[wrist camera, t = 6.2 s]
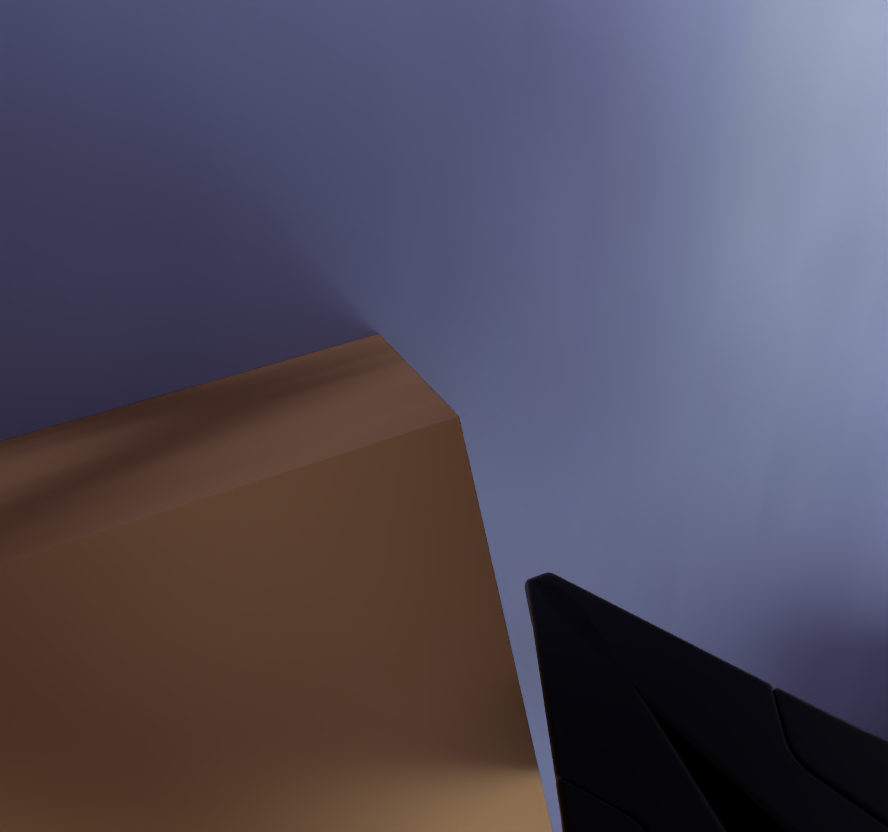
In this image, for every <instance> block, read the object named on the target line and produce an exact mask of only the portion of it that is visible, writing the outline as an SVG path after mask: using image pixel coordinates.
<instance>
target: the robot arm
mask: <svg viewBox="0 0 888 832" xmlns="http://www.w3.org/2000/svg"><path fill="white" fill-rule="evenodd" d="M525 591H526V596H527V601H528V607H529V612H530V617H531V622H532V626H533V632H534V638H535V645H536V652H537V658H538V665H539V672H540V678H541V685H542V692H543V698H544V705H545V712H546V718H547V725H548V732H549V738H550V745H551V752H552V758H553V765H554V772H555V778H556V787H557V794H558V801H559V807H560V814H561V822H562V831H563V832H888V741H887V740H885V739H883V738H881V737H878V736H876V735H874V734H871V733H869V732H867V731H865V730H862V729H860V728H858V727H856V726H854V725H852V724H850V723H848V722H846V721H844V720H842V719H840V718H838V717H836V716H833V715H831V714H829V713H827V712H825V711H823V710H821V709H819V708H817V707H815V706H813V705H811V704H809V703H807V702H805V701H803V700H801V699H799V698H797V697H795V696H793V695H791V694H789V693H787V692H785V691H783V690H781V689H779V688H776V689H774V691H773V688H772V686H771V685H770V684H769V683H767V682H765V681H763V680H761V679H759V678H757V677H755V676H753V675H751V674H749V673H747V672H745V671H743V670H741V669H739V668H738V667H736V666H734V665H732V664H730V663H728V662H726V661H724V660H722V659H720V658H718V657H716V656H714V655H712V654H710V653H708V652H706V651H704V650H702V649H700V648H698V647H696V646H694V645H692V644H690V643H688V642H686V641H684V640H683V639H681V638H679V637H677V636H675V635H673V634H671V633H669V632H667V631H665V630H663V629H661V628H659V627H657V626H655V625H653V624H651V623H649V622H647V621H645V620H643V619H641V618H639V617H637V616H635V615H633V614H631V613H629V612H628V611H626V610H624V609H622V608H620V607H618V606H616V605H614V604H612V603H610V602H608V601H606V600H604V599H602V598H600V597H598V596H596V595H594V594H592V593H590V592H588V591H586V590H584V589H582V588H580V587H578V586H576V585H575V584H573V583H571V582H569V581H567V580H565V579H563V578H561V577H559V576H557V575H555V574H553V573H544V574H541V575H539V576H536V577H533V578H530V579H528V580H527V581H526V583H525Z"/></svg>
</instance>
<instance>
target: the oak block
mask: <svg viewBox="0 0 888 832" xmlns="http://www.w3.org/2000/svg"><path fill="white" fill-rule="evenodd" d="M0 832H553V831H552V827H551V822H550V818H549V814H548V809H547V805H546V800H545V796H544V791H543V787H542V783H541V778H540V774H539V769H538V765H537V760H536V756H535V751H534V747H533V743H532V738H531V734H530V729H529V725H528V720H527V716H526V712H525V707H524V703H523V698H522V694H521V689H520V685H519V681H518V676H517V672H516V667H515V663H514V658H513V654H512V649H511V645H510V641H509V636H508V632H507V627H506V623H505V618H504V614H503V610H502V605H501V601H500V596H499V592H498V587H497V583H496V579H495V574H494V570H493V565H492V561H491V556H490V552H489V547H488V543H487V539H486V534H485V530H484V525H483V521H482V516H481V512H480V508H479V503H478V499H477V494H476V490H475V485H474V481H473V477H472V472H471V468H470V463H469V459H468V454H467V450H466V445H465V441H464V437H463V432H462V428H461V423H460V419H459V416H458V415H457V414H456V413H455V412H454V411H453V410H452V409H451V408H450V407H449V405H448V404H447V403H446V402H445V401H444V400H443V399H442V398H441V397H440V396H439V395H438V394H437V393H436V392H435V391H434V390H433V389H432V388H431V387H430V386H429V385H428V384H427V383H426V382H425V381H424V380H423V379H422V378H421V377H420V376H419V375H418V374H417V373H416V372H415V371H414V369H413V368H412V367H411V366H410V365H409V364H408V363H407V362H406V361H405V360H404V359H403V358H402V357H401V356H400V355H399V354H398V353H397V352H396V351H395V350H394V349H393V348H392V347H391V346H390V345H389V344H388V343H387V342H386V341H385V340H384V339H383V338H382V337H381V336H380V335H379V334H376V335H373V336H369V337H366V338H362V339H359V340H355V341H352V342H348V343H345V344H341V345H338V346H334V347H331V348H327V349H324V350H320V351H316V352H313V353H309V354H306V355H302V356H299V357H295V358H292V359H288V360H285V361H281V362H278V363H274V364H271V365H267V366H264V367H260V368H257V369H253V370H249V371H246V372H242V373H239V374H235V375H232V376H228V377H225V378H221V379H218V380H214V381H211V382H207V383H204V384H200V385H197V386H193V387H190V388H186V389H182V390H179V391H175V392H172V393H168V394H165V395H161V396H158V397H154V398H151V399H147V400H144V401H140V402H137V403H133V404H130V405H126V406H122V407H119V408H115V409H112V410H108V411H105V412H101V413H98V414H94V415H91V416H87V417H84V418H80V419H77V420H73V421H70V422H66V423H63V424H59V425H55V426H52V427H48V428H45V429H41V430H38V431H34V432H31V433H27V434H24V435H20V436H17V437H13V438H10V439H6V440H3V441H0Z"/></svg>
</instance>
